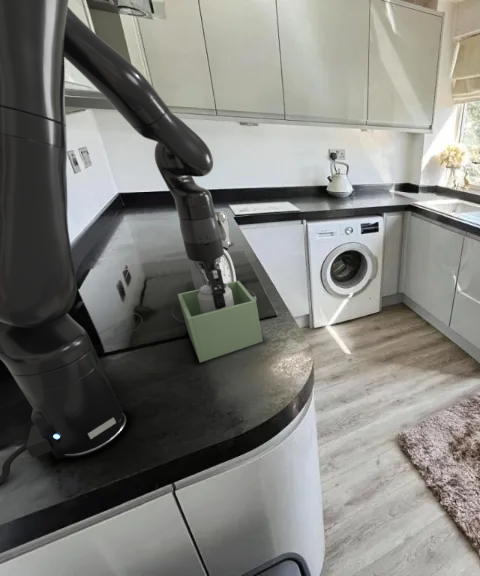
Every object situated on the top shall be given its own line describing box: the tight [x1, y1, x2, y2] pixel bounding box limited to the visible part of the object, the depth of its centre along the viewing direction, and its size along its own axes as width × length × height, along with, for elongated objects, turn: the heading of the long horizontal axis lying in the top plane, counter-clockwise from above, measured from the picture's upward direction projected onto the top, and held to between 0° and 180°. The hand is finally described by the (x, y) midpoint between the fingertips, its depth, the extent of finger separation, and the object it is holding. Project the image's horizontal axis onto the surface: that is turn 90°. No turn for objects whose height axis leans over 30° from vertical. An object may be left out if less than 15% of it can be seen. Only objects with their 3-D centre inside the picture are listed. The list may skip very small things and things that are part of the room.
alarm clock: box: [190, 240, 237, 290], centre depth 97 cm, size 16×9×22 cm, turn 12°
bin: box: [177, 280, 264, 363], centre depth 81 cm, size 15×15×12 cm
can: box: [198, 283, 234, 314], centre depth 80 cm, size 8×8×12 cm
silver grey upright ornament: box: [214, 210, 232, 247], centre depth 146 cm, size 7×7×15 cm
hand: (216, 300), depth 79 cm, fingers closed on can, 7 cm apart
